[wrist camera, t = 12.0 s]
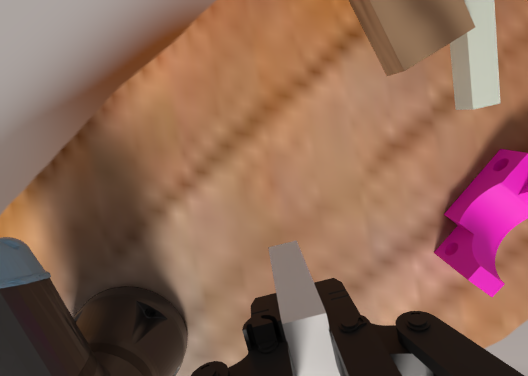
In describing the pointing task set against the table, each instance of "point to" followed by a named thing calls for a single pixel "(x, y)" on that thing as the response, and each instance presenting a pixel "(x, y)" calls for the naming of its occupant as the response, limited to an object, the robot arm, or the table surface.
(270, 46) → the table surface
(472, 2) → the board
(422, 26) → the walnut block
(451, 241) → the magenta arch bracket
